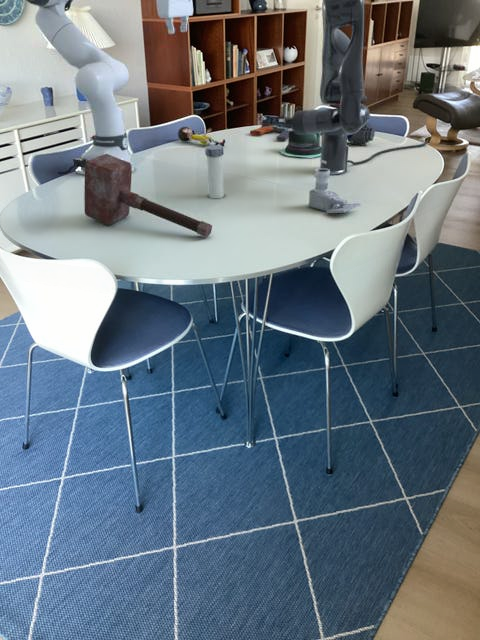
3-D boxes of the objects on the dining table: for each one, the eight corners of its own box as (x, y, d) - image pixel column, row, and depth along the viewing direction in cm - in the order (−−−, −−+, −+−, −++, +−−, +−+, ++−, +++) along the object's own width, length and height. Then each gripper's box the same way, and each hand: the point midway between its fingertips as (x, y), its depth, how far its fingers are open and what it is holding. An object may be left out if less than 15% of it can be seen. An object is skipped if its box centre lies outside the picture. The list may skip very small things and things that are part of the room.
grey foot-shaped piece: (322, 165, 173) (363, 174, 165) (319, 201, 179) (359, 212, 171) (305, 171, 168) (347, 180, 159) (303, 208, 174) (344, 219, 165)
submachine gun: (243, 132, 260) (267, 122, 278) (243, 138, 261) (267, 127, 280) (305, 138, 246) (326, 127, 265) (305, 144, 248) (326, 133, 266)
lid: (201, 155, 180) (201, 147, 179) (214, 151, 184) (214, 144, 183) (214, 157, 177) (214, 150, 175) (227, 154, 180) (227, 146, 179)
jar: (205, 196, 187) (203, 149, 179) (216, 192, 190) (214, 146, 182) (216, 199, 184) (214, 151, 176) (226, 195, 187) (225, 148, 179)
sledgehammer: (221, 197, 152) (105, 152, 164) (203, 207, 145) (83, 159, 156) (213, 251, 162) (103, 205, 174) (195, 264, 155) (82, 215, 166)
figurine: (211, 139, 238) (170, 125, 250) (210, 157, 242) (170, 142, 255) (230, 134, 247) (190, 120, 259) (229, 150, 251) (189, 136, 263)
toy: (345, 120, 249) (377, 123, 242) (343, 139, 253) (375, 143, 246) (337, 123, 243) (369, 127, 236) (336, 143, 247) (367, 147, 240)
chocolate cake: (332, 145, 241) (326, 158, 224) (294, 164, 249) (286, 177, 233) (317, 113, 235) (310, 124, 219) (279, 133, 244) (269, 145, 228)
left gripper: (179, -16, 185) (182, 30, 192) (151, -17, 169) (155, 34, 176) (196, -17, 183) (198, 30, 190) (170, -17, 167) (173, 34, 174)
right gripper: (321, 113, 188) (281, 116, 198) (298, 106, 177) (257, 110, 186) (319, 136, 189) (280, 138, 199) (297, 131, 178) (256, 133, 188)
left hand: (177, 32), depth 183 cm, fingers open, 8 cm apart
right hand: (269, 125), depth 193 cm, fingers open, 8 cm apart
